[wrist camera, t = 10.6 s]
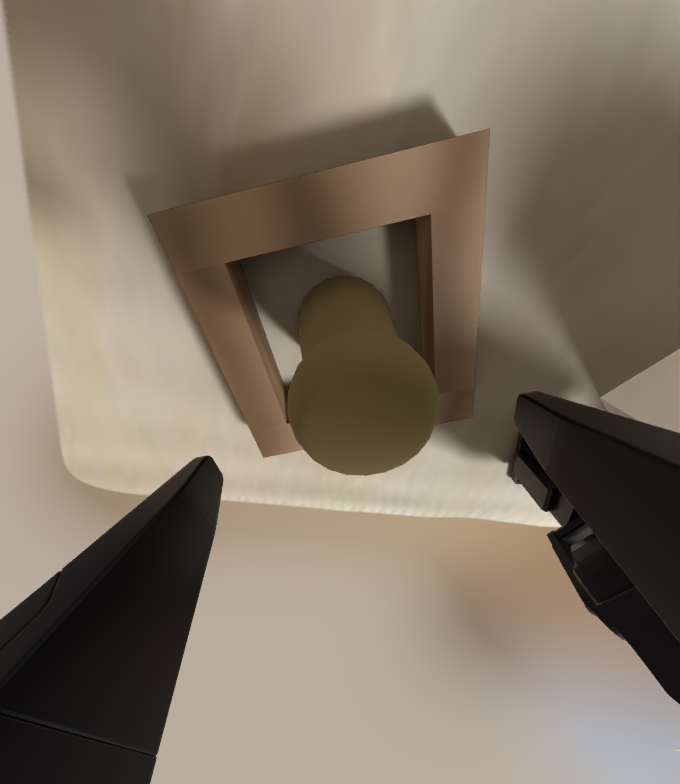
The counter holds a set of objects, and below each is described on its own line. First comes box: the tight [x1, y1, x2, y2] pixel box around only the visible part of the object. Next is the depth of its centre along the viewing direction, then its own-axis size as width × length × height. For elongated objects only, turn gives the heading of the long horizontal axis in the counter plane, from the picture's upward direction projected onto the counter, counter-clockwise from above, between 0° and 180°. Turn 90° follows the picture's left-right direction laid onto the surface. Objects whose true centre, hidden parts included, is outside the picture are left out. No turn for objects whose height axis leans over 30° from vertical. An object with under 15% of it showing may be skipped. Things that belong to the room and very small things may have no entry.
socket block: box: [147, 129, 490, 458], centre depth 16 cm, size 15×15×2 cm
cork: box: [287, 276, 439, 476], centre depth 13 cm, size 6×6×11 cm
